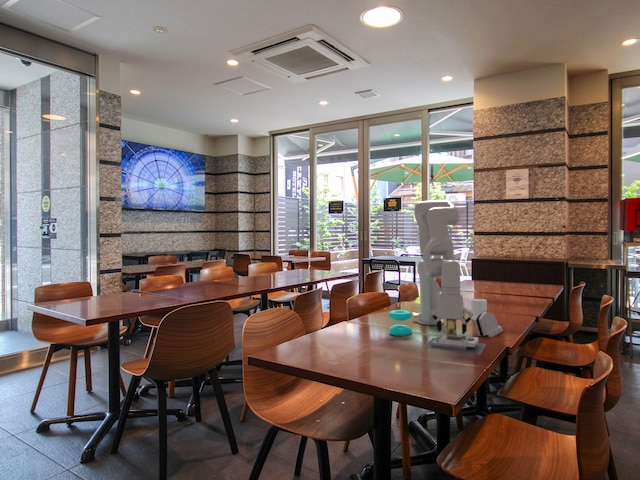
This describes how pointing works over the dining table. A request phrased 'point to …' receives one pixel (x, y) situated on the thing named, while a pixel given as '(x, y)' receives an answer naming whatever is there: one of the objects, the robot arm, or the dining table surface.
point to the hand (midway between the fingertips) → (451, 332)
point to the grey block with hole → (455, 342)
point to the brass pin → (451, 327)
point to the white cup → (478, 307)
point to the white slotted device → (487, 324)
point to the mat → (475, 350)
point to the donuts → (400, 316)
